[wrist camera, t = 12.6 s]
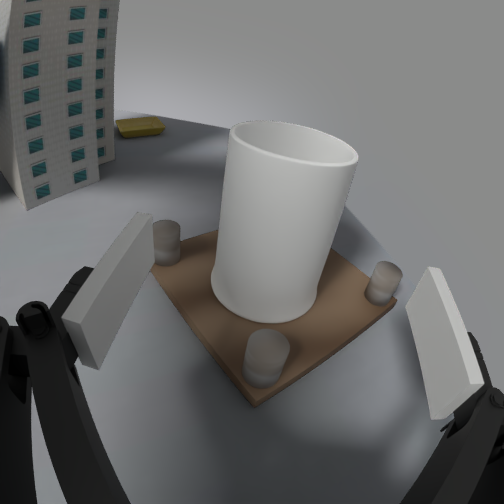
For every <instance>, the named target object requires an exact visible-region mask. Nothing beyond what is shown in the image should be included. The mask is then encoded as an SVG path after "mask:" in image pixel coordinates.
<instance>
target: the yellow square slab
mask: <svg viewBox="0 0 504 504" xmlns="http://www.w3.org/2000/svg"><path fill="white" fill-rule="evenodd" d="M116 124H117V126H118V129H119V131H120V133H121V134H122V136H123V137H124V138H130V137H139V136H148V135H158V134H160V133H161V132H162V131H163V130H164V129H165V125H164V124H163V123H162V122H161V121H160V120H159V119H158V118H157V117H143V118H132V119H122V120H116Z"/></svg>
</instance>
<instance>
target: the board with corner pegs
mask: <svg viewBox="0 0 504 504" xmlns="http://www.w3.org/2000/svg"><path fill="white" fill-rule="evenodd" d="M218 231H219V230H216V231H212V232H209V233H206V234H202V235H199V236H196V237H192V238H189V239H186V240H183V241H180V225H179V224H178V223H177V222H175V221H172V220H160V221H157V222H155V223H154V224H153V242H154V258H155V262H154V264H153V266H152V268H151V270H150V271H151V272H152V274H153V275H154V277H155V278H156V280H157V281H158V282H159V284H160V285H161V287H162V288H163V290H164V291H165V293H166V294H167V295H168V297H169V298H170V300H171V301H172V303H173V304H174V305H175V307H176V308H177V310H178V311H179V312H180V314H181V315H182V317H183V318H184V319H185V321H186V322H187V323H188V325H189V326H190V328H191V329H192V330H193V332H194V333H195V334H196V336H197V337H198V338H199V340H200V341H201V342H202V344H203V345H204V346H205V347H206V349H207V350H208V351H209V353H210V354H211V355H212V357H213V358H214V359H215V360H216V362H217V363H218V364H219V366H220V367H221V368H222V369H223V371H224V372H225V373H226V374H227V376H228V377H229V378H230V379H231V381H232V382H233V383H234V384H235V385H236V387H237V388H238V389H239V390H240V392H241V393H242V394H243V395H244V396H245V398H246V399H247V400H248V401H249V402H250V404H251V405H252V406H253V407H254V408H255V407H256V406H258V405H260V404H261V403H263V402H265V401H266V400H268V399H269V398H271V397H272V396H274V395H276V394H277V393H279V392H280V391H282V390H283V389H285V388H286V387H288V386H289V385H291V384H292V383H294V382H295V381H297V380H298V379H300V378H301V377H303V376H304V375H306V374H307V373H309V372H310V371H311V370H313V369H314V368H316V367H317V366H319V365H320V364H321V363H323V362H324V361H326V360H327V359H328V358H330V357H331V356H332V355H334V354H335V353H337V352H338V351H339V350H341V349H342V348H343V347H345V346H346V345H347V344H349V343H350V342H351V341H352V340H354V339H355V338H356V337H358V336H359V335H360V334H362V333H363V332H364V331H365V330H367V329H368V328H369V327H370V326H372V325H373V324H374V323H375V322H377V321H378V320H379V319H380V318H381V317H383V316H384V315H385V314H386V313H388V312H389V311H390V310H391V309H392V308H393V307H394V305H395V304H396V302H397V299H396V298H394V297H393V296H392V295H393V293H394V292H395V290H396V288H397V286H398V284H399V282H400V280H401V278H402V271H401V270H400V269H399V268H398V267H397V266H396V265H395V264H393V263H390V262H387V261H380V262H378V263H377V265H376V267H375V269H374V272H373V274H372V276H371V278H369V277H368V276H367V275H365V274H364V273H363V272H361V271H360V270H359V269H358V268H356V267H355V266H354V265H352V264H351V263H350V262H349V261H347V260H346V259H345V258H343V257H342V256H341V255H339V254H338V253H337V252H336V251H334V250H333V249H332V248H330V251H329V254H328V256H327V259H326V262H325V265H324V268H323V271H322V273H321V276H320V279H319V282H318V286H317V295H316V299H315V302H314V304H313V305H312V307H311V308H310V309H309V310H308V311H307V312H306V313H305V314H304V315H302V316H301V317H299V318H297V319H295V320H292V321H288V322H284V323H273V324H271V323H260V322H255V321H251V320H248V319H245V318H243V317H240V316H238V315H236V314H235V313H233V312H231V311H230V310H228V309H227V308H226V307H225V306H224V305H223V304H222V303H221V302H220V301H219V300H218V298H217V297H216V295H215V294H214V292H213V289H212V285H211V273H212V270H213V267H214V265H215V259H216V251H217V241H218Z"/></svg>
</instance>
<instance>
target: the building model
mask: <svg viewBox="0 0 504 504" xmlns="http://www.w3.org/2000/svg"><path fill="white" fill-rule="evenodd" d="M119 2H120V0H0V171H1V172H2V174H3V175H4V177H5V179H6V180H7V182H8V183H9V185H10V186H11V188H12V189H13V191H14V192H15V194H16V195H17V197H18V198H19V200H20V201H21V203H22V204H23V206H24V207H25V208H26V210H30V209H32V208H34V207H36V206H39V205H41V204H43V203H45V202H48V201H50V200H52V199H55V198H57V197H60V196H62V195H64V194H67V193H69V192H72V191H74V190H77V189H79V188H82V187H84V186H87V185H90V184H92V183H95V182H97V181H100V179H99V167H98V165H100V164H103V163H106V162H109V161H112V160H115V150H114V66H115V64H114V63H115V47H116V32H117V20H118V11H119Z"/></svg>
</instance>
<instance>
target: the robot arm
mask: <svg viewBox="0 0 504 504" xmlns="http://www.w3.org/2000/svg"><path fill="white" fill-rule="evenodd" d="M154 262H155V258H154V242H153V222H152V215H151V214H145V213H139V212H137V213H136V214H135V215H134V217H133V218H132V219H131V221H130V222H129V223H128V224H127V226H126V227H125V228H124V229H123V231H122V232H121V233H120V235H119V236H118V237H117V239H116V240H115V241H114V243H113V244H112V245H111V247H110V248H109V249H108V251H107V252H106V253H105V255H104V256H103V257H102V259H101V260H100V261H99V263H98V264H97V266H96V267H95V268H90V267H86V266H85V267H83V268H82V269H80V270H79V271H77V272H76V273H75V274H74V275H73V277H72V278H71V279H70V281H69V283H68V284H67V285H66V286H65V288H64V289H63V291H62V292H61V293H60V295H59V296H58V297H57V299H56V300H55V302H54V303H53V305H52V306H51V308H50V309H48V306H47V305H46V304H45V303H43V302H40V301H32V302H29V303H27V304H25V305H24V306H22V307H21V308H20V309H19V311H18V313H17V314H16V322H17V324H18V326H9V324H8V322H7V320H6V319H5V318H3V317H1V316H0V504H37V497H36V490H35V481H34V471H33V458H32V438H31V393H32V389H33V394H34V399H35V404H36V408H37V412H38V416H39V420H40V424H41V428H42V432H43V435H44V439H45V442H46V446H47V449H48V452H49V455H50V458H51V461H52V464H53V467H54V470H55V473H56V476H57V479H58V481H59V484H60V487H61V489H62V492H63V494H64V497H65V499H66V502H67V504H131V503H130V501H129V499H128V498H127V496H126V494H125V492H124V490H123V488H122V486H121V484H120V482H119V480H118V477H117V475H116V473H115V471H114V469H113V467H112V465H111V462H110V460H109V458H108V456H107V453H106V451H105V449H104V446H103V444H102V441H101V439H100V436H99V434H98V431H97V429H96V426H95V423H94V421H93V418H92V415H91V413H90V410H89V407H88V404H87V401H86V398H85V395H84V392H83V389H82V386H81V383H80V379H79V376H78V373H77V369H76V367H75V365H74V363H75V361H76V359H77V358H78V357H79V359H80V361H81V363H82V365H85V366H88V367H91V368H94V369H97V370H99V369H100V367H101V365H102V363H103V361H104V359H105V357H106V355H107V353H108V351H109V348H110V346H111V344H112V342H113V340H114V338H115V336H116V334H117V332H118V330H119V328H120V326H121V324H122V322H123V320H124V318H125V316H126V315H127V313H128V311H129V309H130V307H131V305H132V303H133V301H134V299H135V297H136V295H137V294H138V292H139V290H140V288H141V286H142V284H143V282H144V281H145V279H146V277H147V275H148V273H149V271H150V270H151V268H152V266H153V264H154ZM405 307H406V311H407V314H408V318H409V322H410V325H411V329H412V333H413V337H414V341H415V345H416V349H417V353H418V357H419V361H420V366H421V370H422V375H423V380H424V384H425V389H426V395H427V400H428V405H429V411H430V417H431V420H433V419H445V418H447V417H448V416H449V415H450V414H451V413H454V417H455V418H454V419H453V420H452V421H450V422H449V423H448V424H447V425H445V426H444V427H443V428H442V429H441V430H440V431H441V432H442V431H444V430H445V429H446V431H445V433H444V435H443V437H442V439H441V440H440V442H439V444H438V446H437V448H436V449H435V451H434V453H433V454H432V456H431V458H430V459H429V461H428V463H427V464H426V466H425V467H424V469H423V471H422V472H421V474H420V475H419V477H418V478H417V480H416V481H415V483H414V484H413V486H412V487H411V489H410V490H409V492H408V493H407V494H406V496H405V497H404V499H403V500H402V501H401V503H400V504H504V394H503V393H502V392H501V391H500V390H499V389H497V388H493V386H492V384H491V380H490V377H489V374H488V371H487V368H486V365H485V362H484V360H483V356H482V353H480V351H481V350H480V348H479V345H478V342H477V340H476V339H475V338H474V336H473V335H472V333H471V332H467V331H466V328H465V326H464V323H463V321H462V318H461V315H460V313H459V311H458V308H457V306H456V303H455V301H454V299H453V296H452V294H451V292H450V289H449V287H448V285H447V283H446V280H445V278H444V276H443V274H442V272H441V270H440V269H438V268H434V267H429V266H428V267H427V269H426V271H425V273H424V274H423V276H422V278H421V280H420V282H419V284H418V285H417V287H416V289H415V291H414V292H413V294H412V296H411V298H410V299H409V301H408V303H407V304H406V306H405Z"/></svg>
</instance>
